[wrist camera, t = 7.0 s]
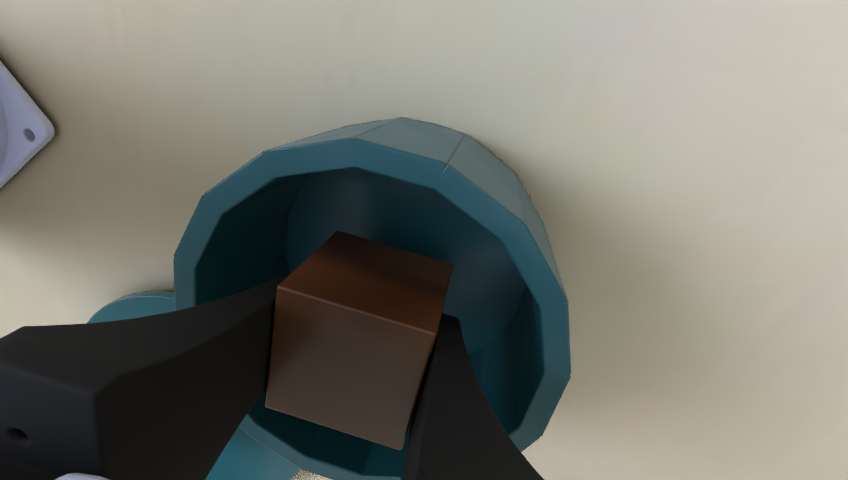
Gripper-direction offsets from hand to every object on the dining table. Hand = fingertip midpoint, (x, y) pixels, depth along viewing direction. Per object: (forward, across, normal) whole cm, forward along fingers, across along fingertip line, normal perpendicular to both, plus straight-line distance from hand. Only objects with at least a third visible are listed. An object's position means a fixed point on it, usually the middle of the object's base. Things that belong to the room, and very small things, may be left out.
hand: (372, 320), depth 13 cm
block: (+1, 0, 0) cm, 1 cm away
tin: (+5, 0, 0) cm, 5 cm away
